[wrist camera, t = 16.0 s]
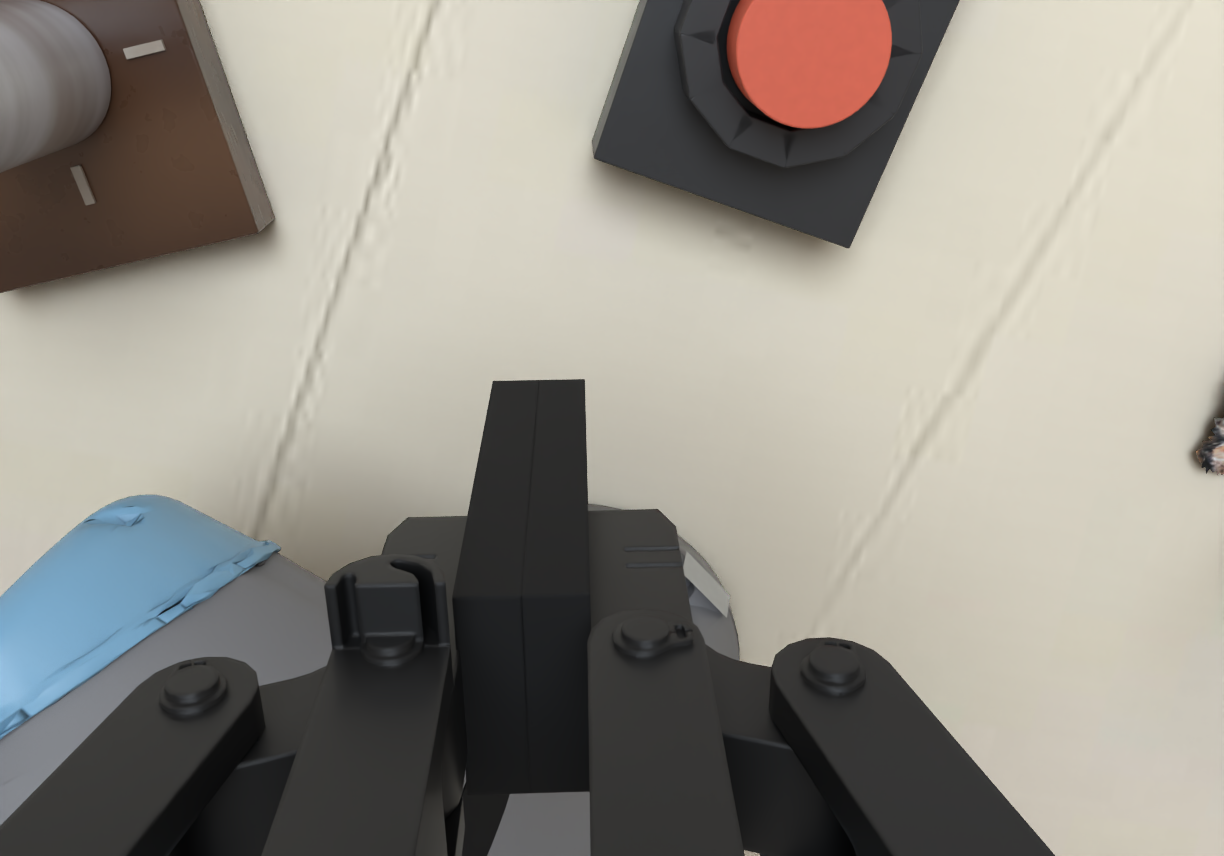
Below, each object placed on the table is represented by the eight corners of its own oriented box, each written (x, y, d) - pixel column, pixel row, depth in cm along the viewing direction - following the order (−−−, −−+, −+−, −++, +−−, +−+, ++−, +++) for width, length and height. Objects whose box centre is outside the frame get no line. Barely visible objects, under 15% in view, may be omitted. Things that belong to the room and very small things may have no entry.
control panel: (275, 218, 43) (257, 234, 40) (10, 280, 43) (-24, 299, 41) (137, -179, 37) (107, -188, 35) (-164, -102, 38) (-215, -106, 35)
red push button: (836, 139, 37) (853, 150, 35) (704, 90, 36) (712, 98, 34) (897, -6, 35) (919, -4, 33) (760, -61, 34) (772, -62, 32)
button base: (828, 226, 44) (864, 265, 38) (591, 142, 42) (594, 170, 37) (963, -87, 39) (1027, -94, 34) (705, -194, 38) (728, -220, 32)
